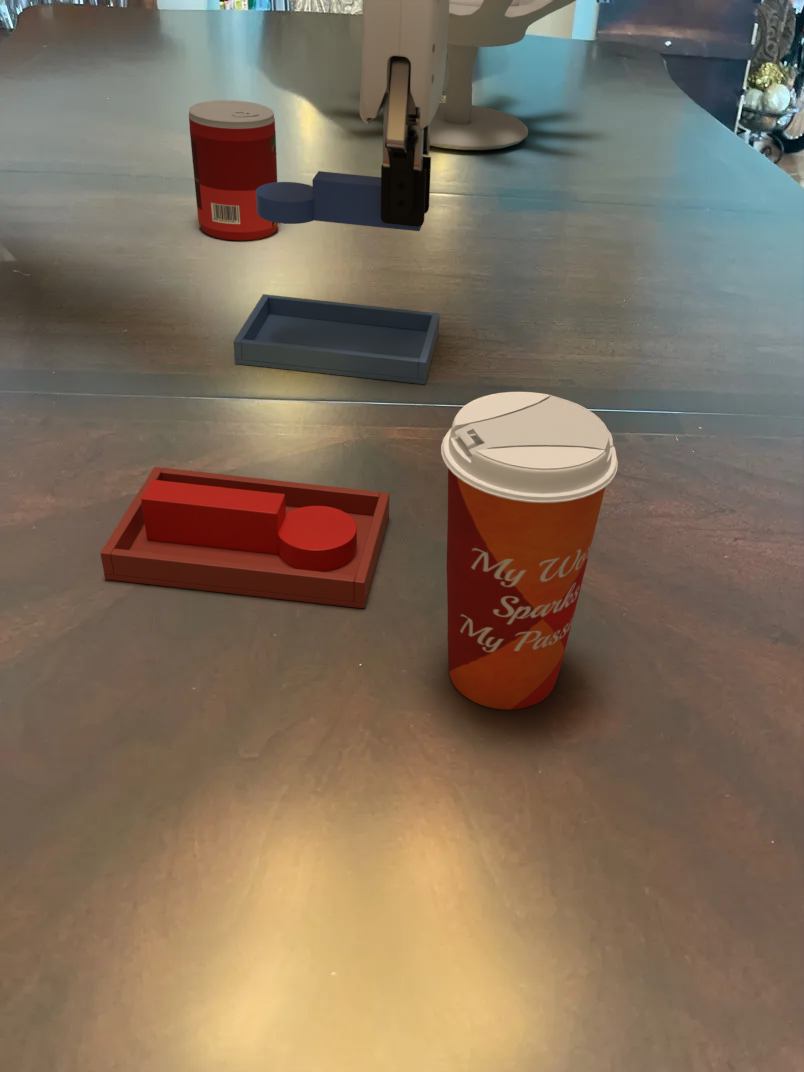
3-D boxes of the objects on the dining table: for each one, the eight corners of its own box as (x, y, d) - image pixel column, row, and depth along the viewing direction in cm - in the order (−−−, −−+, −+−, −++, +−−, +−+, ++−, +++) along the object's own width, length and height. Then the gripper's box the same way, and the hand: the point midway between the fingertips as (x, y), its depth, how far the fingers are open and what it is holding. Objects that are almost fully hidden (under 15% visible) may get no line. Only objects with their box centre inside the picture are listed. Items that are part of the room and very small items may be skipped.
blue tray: (234, 363, 83) (233, 341, 82) (264, 315, 91) (262, 293, 90) (425, 384, 83) (426, 362, 82) (438, 334, 91) (439, 313, 89)
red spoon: (139, 552, 63) (132, 510, 61) (164, 509, 66) (159, 468, 64) (349, 576, 62) (349, 534, 60) (362, 531, 66) (363, 490, 64)
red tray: (104, 579, 61) (99, 552, 60) (157, 491, 68) (154, 466, 67) (364, 608, 61) (364, 582, 60) (388, 517, 68) (389, 492, 67)
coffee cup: (462, 741, 53) (486, 486, 44) (405, 641, 59) (416, 397, 49) (606, 704, 56) (659, 458, 47) (539, 612, 62) (573, 377, 52)
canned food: (292, 235, 106) (288, 117, 99) (217, 246, 102) (207, 124, 95) (259, 211, 111) (253, 97, 103) (186, 220, 107) (175, 102, 100)
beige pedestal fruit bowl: (381, 182, 121) (385, -105, 104) (294, 103, 145) (286, -142, 128) (634, 168, 133) (676, -91, 116) (515, 97, 157) (536, -126, 140)
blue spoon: (425, 216, 82) (427, 176, 80) (417, 237, 78) (418, 195, 76) (265, 200, 82) (263, 159, 80) (250, 220, 78) (247, 178, 76)
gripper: (374, -92, 74) (373, 181, 86) (331, -65, 62) (336, 249, 74) (480, -82, 74) (464, 190, 86) (458, -53, 62) (442, 260, 73)
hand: (405, 215), depth 79 cm, fingers closed on blue spoon, 2 cm apart
